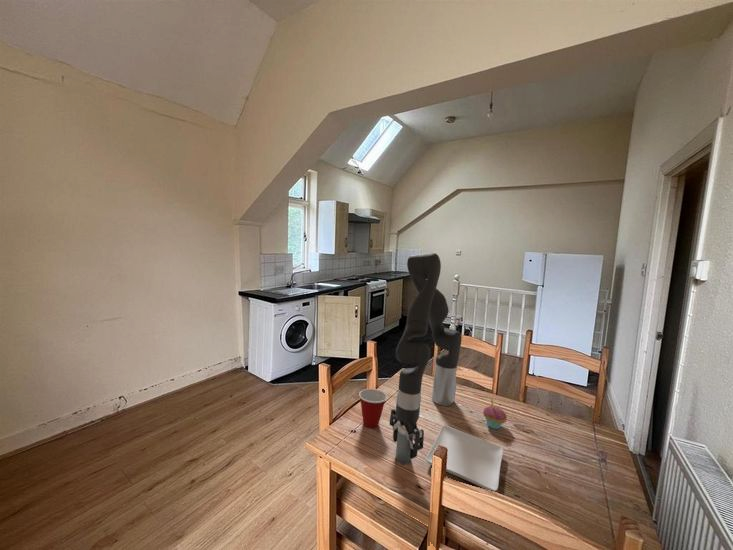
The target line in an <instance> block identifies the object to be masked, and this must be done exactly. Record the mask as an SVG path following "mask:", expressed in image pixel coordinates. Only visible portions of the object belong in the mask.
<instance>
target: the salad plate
mask: <svg viewBox="0 0 733 550" xmlns="http://www.w3.org/2000/svg"><path fill="white" fill-rule="evenodd" d="M438 445H442V446H445V447H447V449H448V460H447V471H446V472H447V473H450V474H451V475H454V476H455V477H458V478H461V479H463V480H466V481H467V482H469V483H472V484H474V485H476V486H478V487H480V488H483V489H484V490H486V489H487V490H486V491H489V490H492V491H491V492H496V491H498V489H499V482H500V475H501V465H502V459H503V457H504V447H502V446H500V445H498V444H496V443H493V442H491V441H487V440H485V439H482V438H480V437H478V436H475V435H473V434H470V433H467V432H465V431H462V430H460V429H456V428H453V427H451V426H449V425H447V424H446V425H445V424H443V425H441V427H440V429H439V432H438V434H437V436H436V438H435V440H434V442H433V444H432V446H431V447H430V449H429V451H428V452H427V455H426V456H425V461H426V462H427V463H428V464H429V465H431V464H432V456H433V452H434V451H435V448H436V447H437V446H438Z"/></svg>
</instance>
